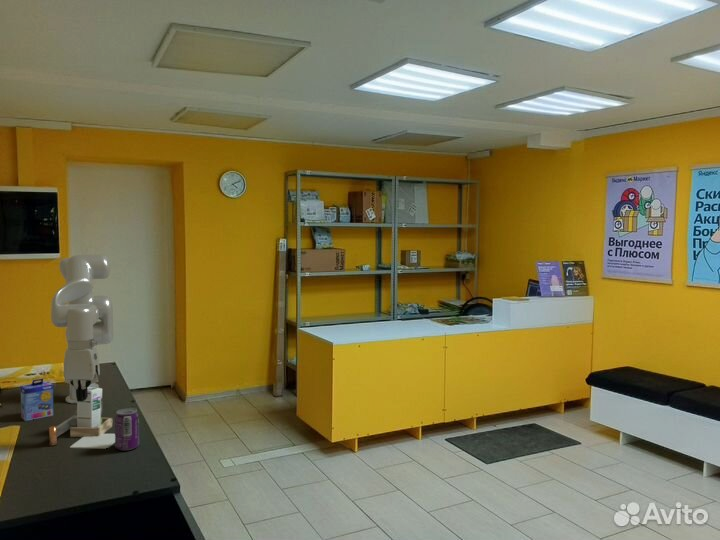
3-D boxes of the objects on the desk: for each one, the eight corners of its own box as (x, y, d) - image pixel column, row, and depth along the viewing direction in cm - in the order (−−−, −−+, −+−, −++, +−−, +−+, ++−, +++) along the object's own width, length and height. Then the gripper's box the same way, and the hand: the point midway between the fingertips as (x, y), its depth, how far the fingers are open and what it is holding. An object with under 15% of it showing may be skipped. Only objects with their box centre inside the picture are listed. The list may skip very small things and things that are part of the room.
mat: (88, 434, 194) (88, 433, 194) (123, 434, 194) (123, 433, 194) (69, 448, 182) (69, 446, 182) (107, 448, 182) (107, 447, 182)
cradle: (86, 425, 203) (86, 417, 203) (113, 426, 203) (112, 417, 203) (70, 436, 192) (70, 428, 192) (98, 437, 192) (98, 428, 192)
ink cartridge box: (25, 421, 206) (23, 382, 205) (20, 418, 210) (18, 379, 209) (54, 415, 213) (53, 377, 212) (49, 412, 217) (48, 374, 216)
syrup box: (91, 433, 194) (92, 390, 194) (76, 432, 195) (77, 389, 195) (102, 429, 200) (103, 387, 200) (87, 427, 201) (88, 386, 201)
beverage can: (144, 445, 185) (143, 409, 185) (128, 453, 179) (127, 415, 178) (126, 442, 188) (125, 406, 187) (110, 450, 181) (109, 413, 180)
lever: (77, 424, 203) (77, 409, 202) (84, 425, 203) (83, 409, 202) (47, 445, 184) (47, 428, 183) (55, 445, 184) (54, 428, 183)
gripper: (108, 342, 190) (109, 397, 191) (63, 342, 190) (65, 397, 191) (98, 347, 183) (99, 403, 184) (51, 347, 183) (53, 403, 184)
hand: (82, 400), depth 187 cm, fingers closed
